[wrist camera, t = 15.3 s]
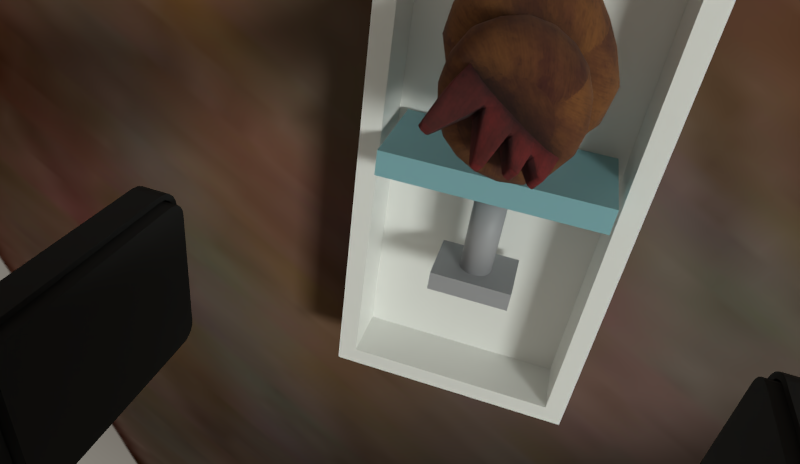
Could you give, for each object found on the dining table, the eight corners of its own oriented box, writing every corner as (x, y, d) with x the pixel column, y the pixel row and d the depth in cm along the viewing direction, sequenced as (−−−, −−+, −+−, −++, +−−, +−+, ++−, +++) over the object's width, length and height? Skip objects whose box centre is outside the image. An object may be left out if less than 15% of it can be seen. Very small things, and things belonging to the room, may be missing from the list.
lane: (755, -112, 23) (778, -104, 20) (563, 374, 38) (558, 424, 34) (417, -166, 25) (388, -166, 22) (361, 313, 40) (338, 356, 36)
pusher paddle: (618, 158, 28) (618, 210, 24) (572, 284, 32) (567, 345, 28) (408, 109, 30) (377, 150, 26) (390, 234, 34) (361, 286, 30)
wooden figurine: (449, -24, 27) (310, 96, 14) (584, -88, 24) (552, -7, 12) (507, 117, 29) (430, 320, 17) (634, 73, 26) (651, 276, 14)
